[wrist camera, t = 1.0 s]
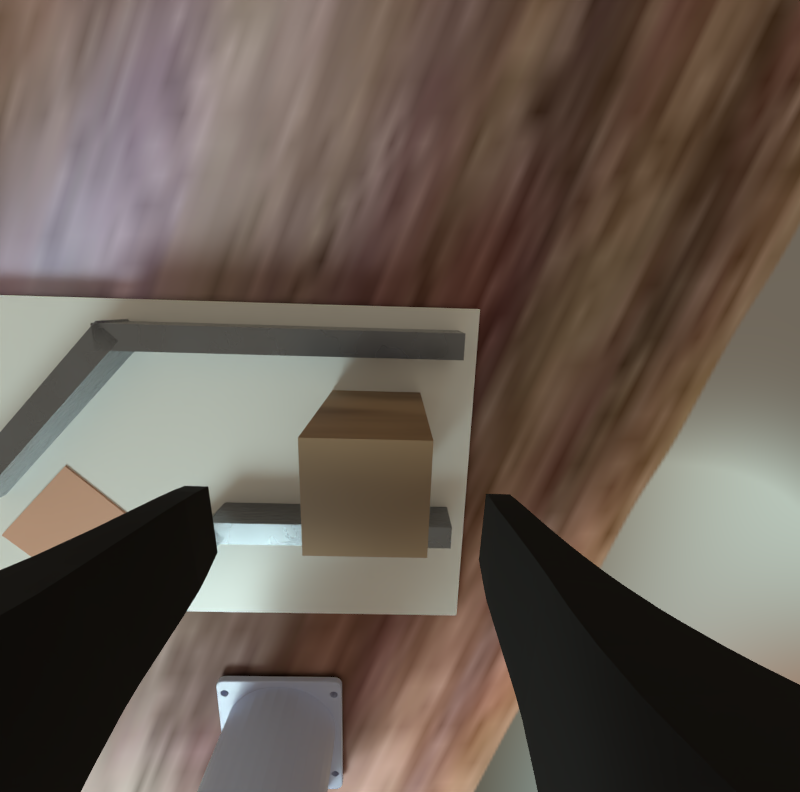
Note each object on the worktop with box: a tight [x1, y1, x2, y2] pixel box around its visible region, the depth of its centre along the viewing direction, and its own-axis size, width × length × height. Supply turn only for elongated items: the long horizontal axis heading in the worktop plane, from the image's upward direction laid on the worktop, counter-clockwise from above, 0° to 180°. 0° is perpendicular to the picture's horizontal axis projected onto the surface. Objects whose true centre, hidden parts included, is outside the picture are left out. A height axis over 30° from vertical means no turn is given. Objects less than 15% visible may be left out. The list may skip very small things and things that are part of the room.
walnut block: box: [298, 390, 433, 558], centre depth 16 cm, size 4×4×7 cm
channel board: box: [0, 295, 480, 615], centre depth 21 cm, size 18×27×1 cm, turn 88°
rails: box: [0, 319, 465, 549], centre depth 19 cm, size 16×25×2 cm, turn 88°
